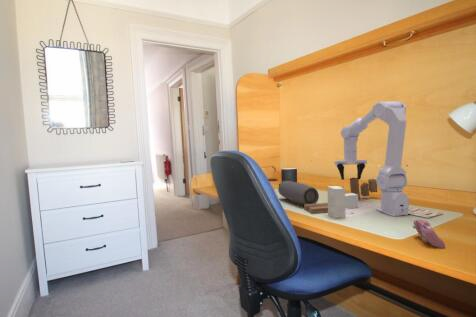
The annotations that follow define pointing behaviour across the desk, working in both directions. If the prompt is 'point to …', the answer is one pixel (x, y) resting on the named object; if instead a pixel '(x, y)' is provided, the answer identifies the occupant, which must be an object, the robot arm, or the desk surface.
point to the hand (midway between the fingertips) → (350, 179)
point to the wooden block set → (362, 187)
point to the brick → (351, 200)
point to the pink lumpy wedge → (428, 233)
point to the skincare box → (336, 202)
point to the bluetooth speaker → (298, 192)
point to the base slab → (316, 208)
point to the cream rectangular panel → (349, 213)
